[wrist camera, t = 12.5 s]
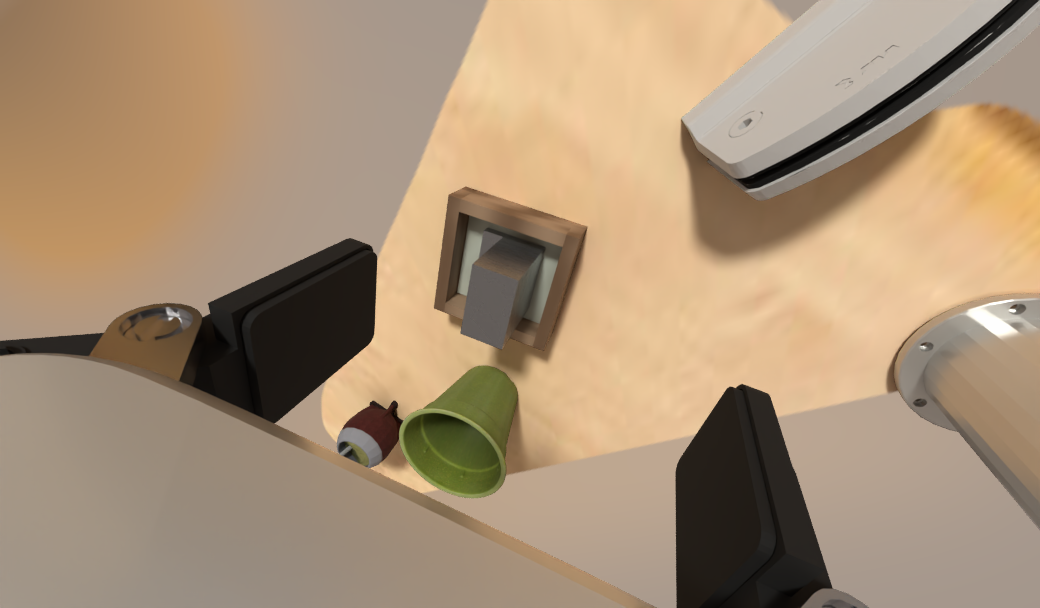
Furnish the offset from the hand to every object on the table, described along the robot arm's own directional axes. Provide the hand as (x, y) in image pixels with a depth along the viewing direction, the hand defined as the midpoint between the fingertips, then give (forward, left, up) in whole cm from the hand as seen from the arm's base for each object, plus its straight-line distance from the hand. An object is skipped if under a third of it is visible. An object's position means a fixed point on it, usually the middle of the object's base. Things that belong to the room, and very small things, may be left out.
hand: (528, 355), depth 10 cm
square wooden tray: (+8, +12, -28) cm, 32 cm away
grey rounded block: (-10, -9, -29) cm, 32 cm away
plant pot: (+7, +29, -28) cm, 41 cm away
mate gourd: (+21, +42, -28) cm, 55 cm away
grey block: (+7, +12, -27) cm, 31 cm away
